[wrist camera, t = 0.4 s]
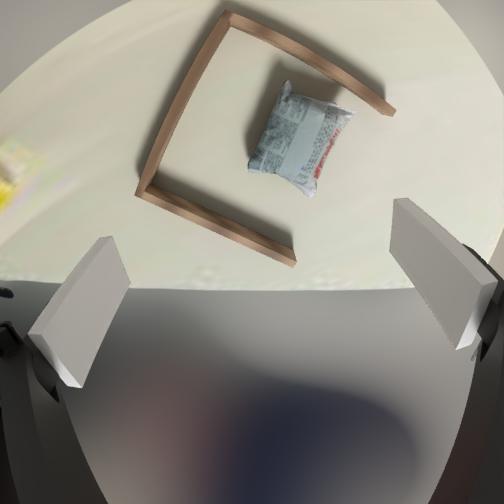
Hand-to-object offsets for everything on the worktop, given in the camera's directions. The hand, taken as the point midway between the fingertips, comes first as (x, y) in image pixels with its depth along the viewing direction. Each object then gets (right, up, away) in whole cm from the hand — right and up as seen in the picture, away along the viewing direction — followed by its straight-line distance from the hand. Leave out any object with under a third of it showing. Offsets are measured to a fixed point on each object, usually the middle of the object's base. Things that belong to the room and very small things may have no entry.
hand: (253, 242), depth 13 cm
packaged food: (+6, +11, +23) cm, 26 cm away
